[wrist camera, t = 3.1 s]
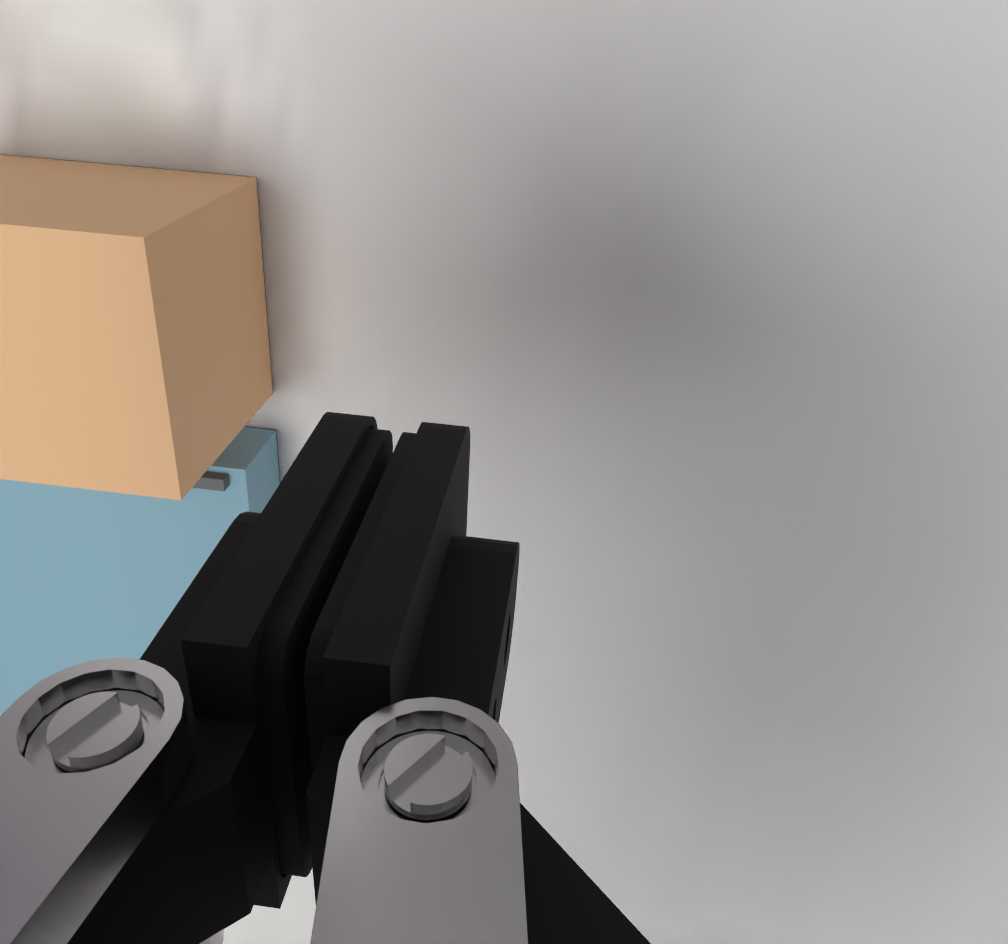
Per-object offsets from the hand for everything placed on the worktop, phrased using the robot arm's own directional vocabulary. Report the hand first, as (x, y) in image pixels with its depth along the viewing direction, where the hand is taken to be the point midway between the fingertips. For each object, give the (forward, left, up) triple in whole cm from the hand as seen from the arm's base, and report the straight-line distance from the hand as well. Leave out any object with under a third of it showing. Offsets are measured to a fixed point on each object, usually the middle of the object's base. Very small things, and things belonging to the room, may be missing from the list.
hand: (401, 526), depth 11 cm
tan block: (+8, +1, -10) cm, 13 cm away
